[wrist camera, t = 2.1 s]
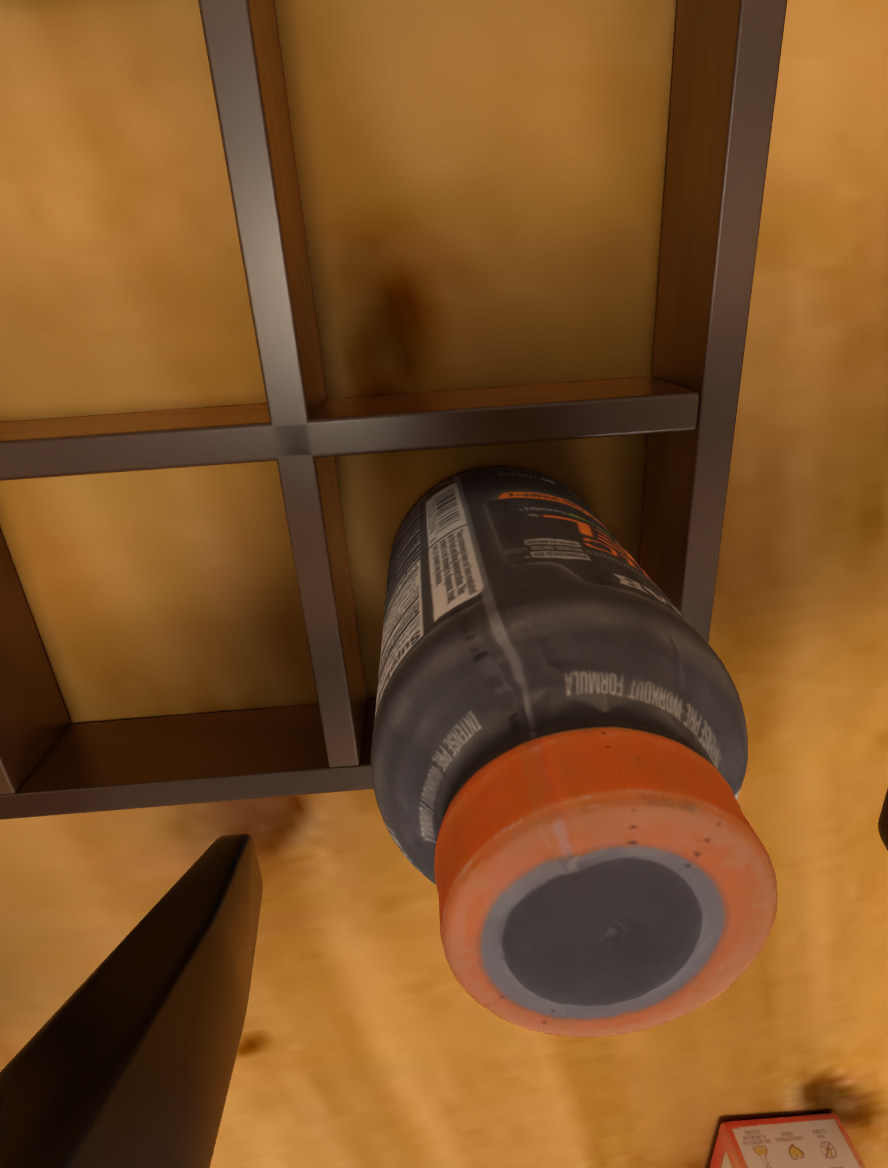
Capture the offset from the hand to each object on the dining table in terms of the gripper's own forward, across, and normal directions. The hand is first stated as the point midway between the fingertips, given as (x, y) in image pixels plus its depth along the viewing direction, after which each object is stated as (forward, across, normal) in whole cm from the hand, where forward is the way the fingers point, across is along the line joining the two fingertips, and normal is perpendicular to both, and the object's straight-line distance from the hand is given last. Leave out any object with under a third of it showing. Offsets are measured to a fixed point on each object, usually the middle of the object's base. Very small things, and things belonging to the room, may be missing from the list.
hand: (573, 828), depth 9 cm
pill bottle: (+10, 0, 0) cm, 10 cm away
